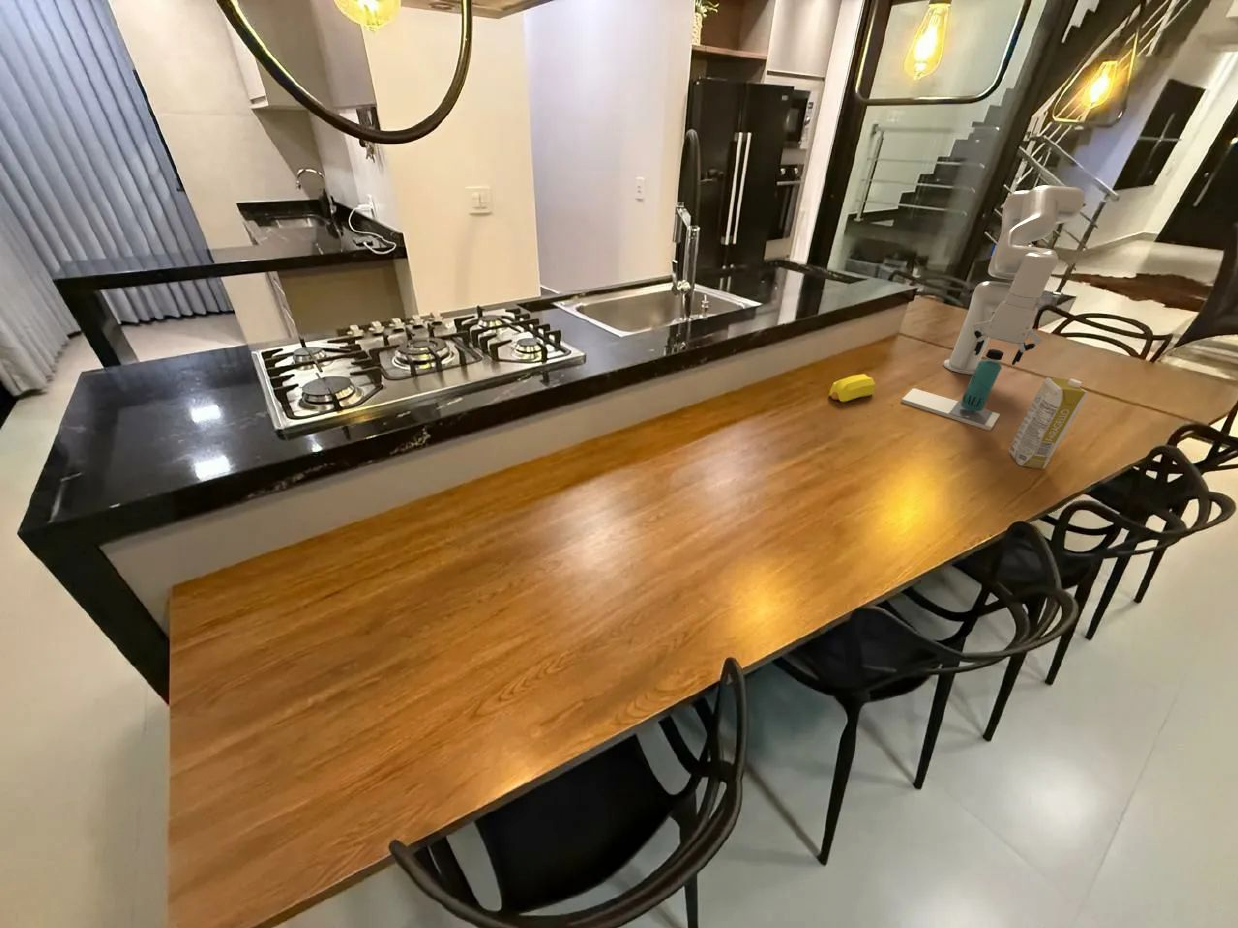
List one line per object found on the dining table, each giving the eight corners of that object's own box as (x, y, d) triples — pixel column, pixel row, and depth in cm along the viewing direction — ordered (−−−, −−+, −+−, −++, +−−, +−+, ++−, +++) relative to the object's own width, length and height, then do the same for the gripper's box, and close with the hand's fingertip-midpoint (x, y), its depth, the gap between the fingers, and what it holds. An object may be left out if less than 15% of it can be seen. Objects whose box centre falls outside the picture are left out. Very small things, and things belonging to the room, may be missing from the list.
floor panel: (912, 391, 183) (913, 387, 182) (998, 417, 169) (1000, 413, 168) (900, 402, 175) (902, 398, 174) (990, 430, 161) (992, 426, 161)
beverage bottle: (975, 407, 171) (1002, 347, 160) (984, 417, 166) (1013, 355, 155) (954, 405, 172) (979, 345, 161) (962, 415, 166) (990, 353, 155)
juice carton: (1049, 471, 143) (1096, 389, 130) (1016, 467, 145) (1060, 385, 131) (1033, 453, 151) (1077, 374, 138) (1003, 449, 152) (1043, 370, 139)
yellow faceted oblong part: (822, 396, 177) (840, 406, 171) (827, 377, 173) (846, 387, 168) (859, 387, 185) (878, 396, 179) (865, 369, 181) (884, 377, 175)
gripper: (1060, 305, 147) (1031, 363, 157) (989, 291, 156) (966, 347, 166) (1056, 311, 142) (1026, 371, 152) (983, 296, 152) (959, 353, 161)
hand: (995, 358), depth 159 cm, fingers open, 9 cm apart
